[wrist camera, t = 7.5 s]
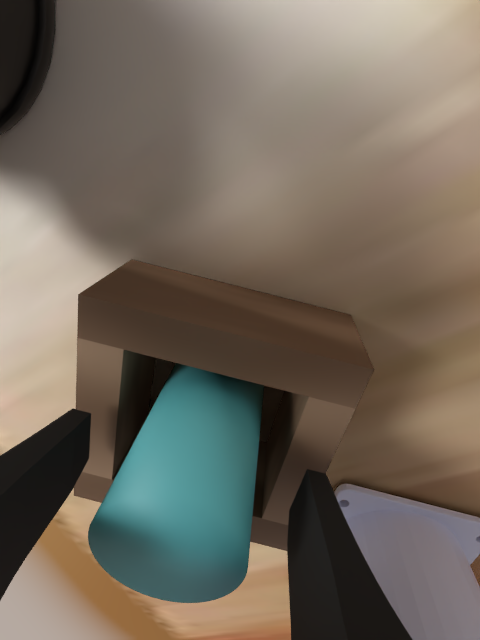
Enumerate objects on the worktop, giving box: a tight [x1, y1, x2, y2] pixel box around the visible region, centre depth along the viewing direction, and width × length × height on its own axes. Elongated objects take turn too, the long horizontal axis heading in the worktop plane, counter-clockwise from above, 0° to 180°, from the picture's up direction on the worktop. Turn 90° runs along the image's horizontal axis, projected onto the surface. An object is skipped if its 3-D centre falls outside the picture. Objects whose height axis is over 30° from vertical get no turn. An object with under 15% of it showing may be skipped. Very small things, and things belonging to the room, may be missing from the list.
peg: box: [88, 363, 264, 603], centre depth 12 cm, size 4×4×8 cm
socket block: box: [74, 260, 374, 551], centre depth 14 cm, size 9×9×4 cm
